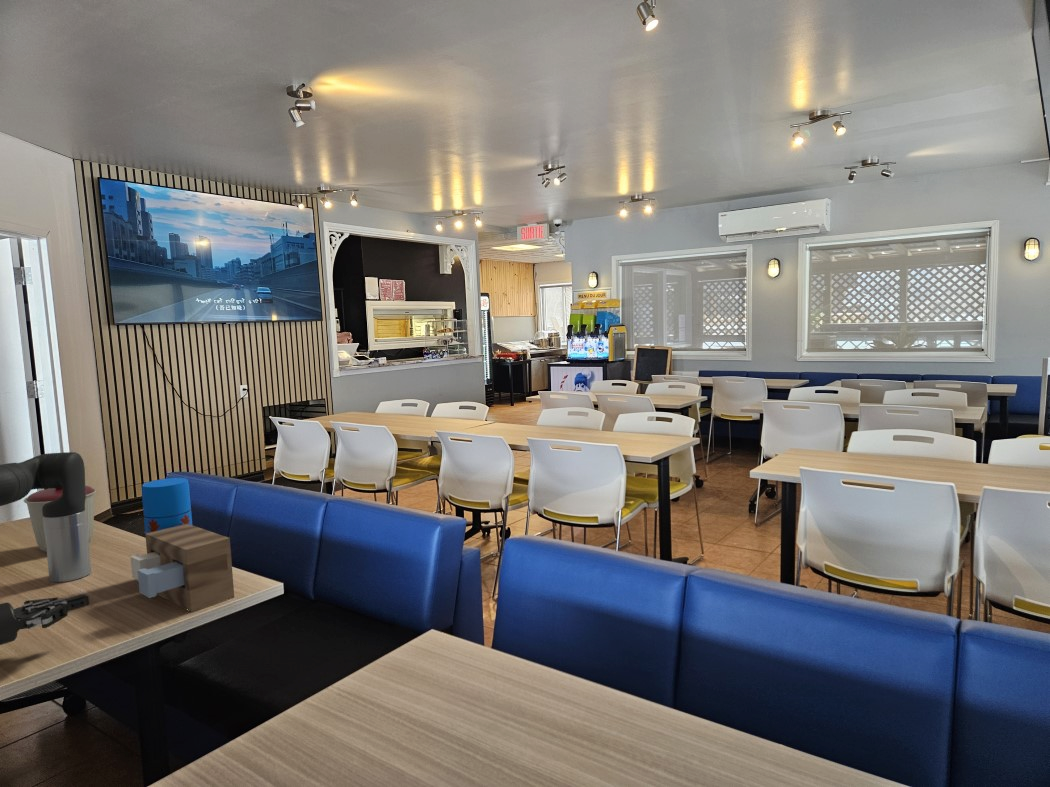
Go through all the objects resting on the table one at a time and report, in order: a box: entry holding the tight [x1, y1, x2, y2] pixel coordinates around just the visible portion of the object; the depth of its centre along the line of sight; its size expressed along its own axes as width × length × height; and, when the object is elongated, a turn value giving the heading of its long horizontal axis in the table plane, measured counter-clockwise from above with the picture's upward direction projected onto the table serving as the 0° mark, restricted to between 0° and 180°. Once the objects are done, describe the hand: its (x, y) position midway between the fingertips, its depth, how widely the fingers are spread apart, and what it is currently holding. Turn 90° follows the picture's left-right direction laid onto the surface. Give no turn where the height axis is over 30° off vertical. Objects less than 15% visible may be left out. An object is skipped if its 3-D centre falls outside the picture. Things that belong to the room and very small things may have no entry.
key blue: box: [137, 561, 185, 599], centre depth 148 cm, size 5×12×5 cm, turn 141°
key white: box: [130, 552, 161, 581], centre depth 158 cm, size 5×12×5 cm, turn 141°
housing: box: [144, 524, 235, 613], centre depth 157 cm, size 22×10×14 cm, turn 51°
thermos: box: [141, 477, 193, 534], centre depth 169 cm, size 11×11×25 cm
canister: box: [23, 485, 97, 553], centre depth 198 cm, size 18×18×21 cm
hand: (87, 599), depth 135 cm, fingers closed
